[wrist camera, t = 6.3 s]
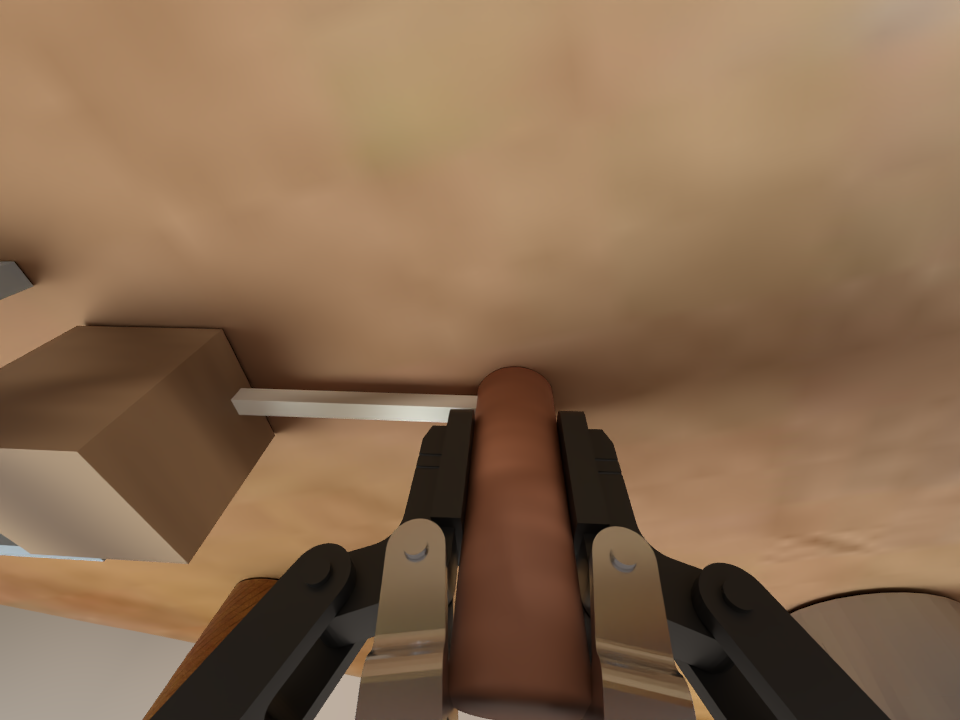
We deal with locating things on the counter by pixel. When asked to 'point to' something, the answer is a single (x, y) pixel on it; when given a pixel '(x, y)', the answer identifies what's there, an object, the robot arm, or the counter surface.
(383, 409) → the block with brown handle
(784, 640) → the robot arm
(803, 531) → the counter surface
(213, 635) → the disposable coffee cup
